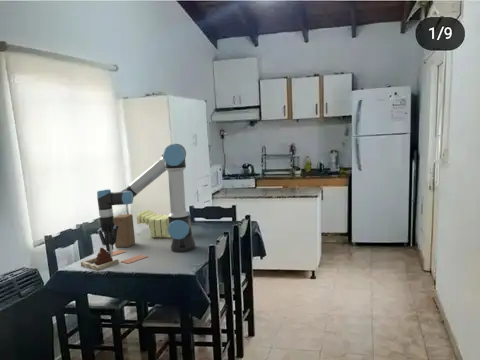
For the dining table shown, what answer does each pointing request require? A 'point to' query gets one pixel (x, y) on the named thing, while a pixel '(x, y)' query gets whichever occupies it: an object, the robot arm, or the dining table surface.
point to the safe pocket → (97, 267)
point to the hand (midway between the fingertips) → (110, 255)
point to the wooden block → (124, 230)
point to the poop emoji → (103, 257)
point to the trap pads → (129, 258)
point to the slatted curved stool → (154, 223)
